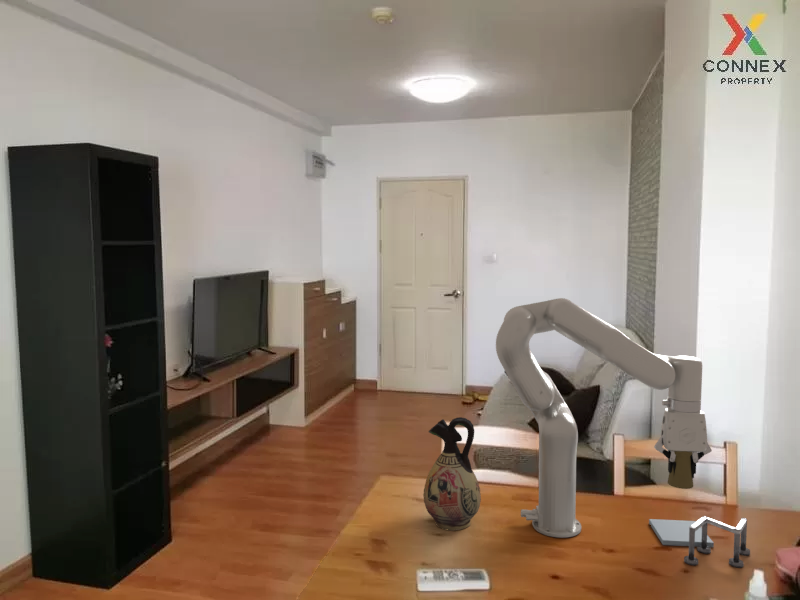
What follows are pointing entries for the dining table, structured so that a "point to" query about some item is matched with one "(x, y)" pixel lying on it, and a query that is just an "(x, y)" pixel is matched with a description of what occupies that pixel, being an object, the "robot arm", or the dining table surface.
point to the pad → (676, 532)
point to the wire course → (703, 548)
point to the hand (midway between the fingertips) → (681, 475)
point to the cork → (681, 471)
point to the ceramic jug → (452, 479)
